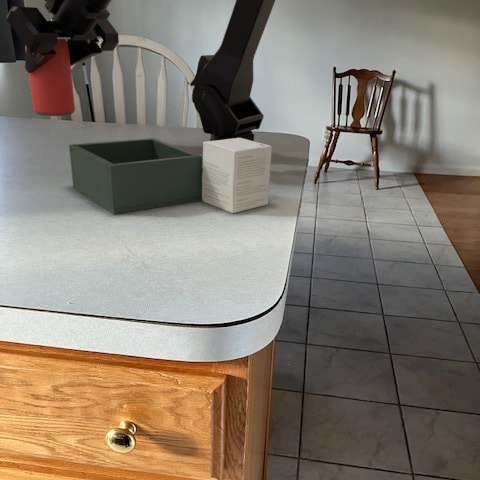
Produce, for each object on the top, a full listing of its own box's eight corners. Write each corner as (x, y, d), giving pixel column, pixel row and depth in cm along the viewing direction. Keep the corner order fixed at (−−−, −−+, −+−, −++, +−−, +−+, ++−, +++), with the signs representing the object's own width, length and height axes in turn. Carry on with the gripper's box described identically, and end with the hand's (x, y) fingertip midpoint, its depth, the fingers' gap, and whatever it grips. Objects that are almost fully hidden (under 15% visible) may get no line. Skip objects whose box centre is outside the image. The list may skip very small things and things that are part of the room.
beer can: (68, 117, 88) (59, 33, 82) (28, 115, 88) (16, 31, 82) (80, 111, 93) (72, 33, 88) (41, 109, 93) (32, 31, 88)
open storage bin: (201, 200, 68) (202, 156, 66) (113, 214, 62) (110, 165, 59) (155, 178, 77) (154, 137, 74) (73, 188, 70) (68, 144, 67)
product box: (237, 194, 72) (240, 136, 68) (269, 205, 68) (274, 145, 64) (200, 201, 68) (201, 141, 64) (232, 214, 64) (235, 150, 61)
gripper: (98, -48, 85) (53, 29, 95) (4, -66, 70) (-38, 27, 80) (142, 12, 86) (93, 81, 95) (58, 6, 71) (10, 89, 81)
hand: (43, 69), depth 88 cm, fingers closed on beer can, 6 cm apart
